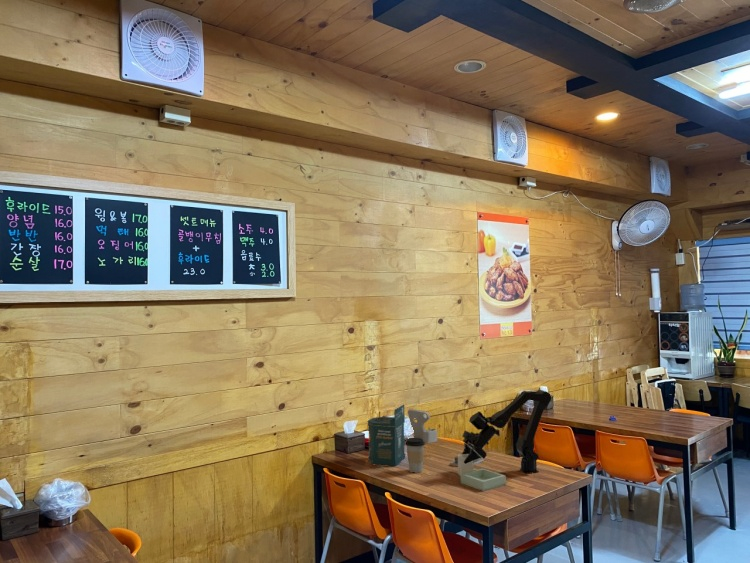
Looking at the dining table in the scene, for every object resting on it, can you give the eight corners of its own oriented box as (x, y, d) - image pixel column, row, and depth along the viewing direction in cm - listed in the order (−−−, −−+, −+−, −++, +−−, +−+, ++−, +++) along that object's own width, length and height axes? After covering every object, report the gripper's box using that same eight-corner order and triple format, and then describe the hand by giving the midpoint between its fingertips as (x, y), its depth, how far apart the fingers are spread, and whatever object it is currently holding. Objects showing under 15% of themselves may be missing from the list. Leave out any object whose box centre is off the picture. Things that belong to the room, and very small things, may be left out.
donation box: (395, 466, 281) (394, 409, 282) (365, 463, 286) (364, 408, 287) (405, 458, 296) (404, 404, 297) (376, 455, 301) (375, 402, 302)
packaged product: (468, 448, 296) (485, 452, 289) (468, 458, 296) (485, 461, 289) (449, 455, 283) (466, 459, 276) (449, 465, 282) (466, 469, 276)
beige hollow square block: (469, 473, 268) (469, 454, 269) (473, 476, 263) (472, 457, 263) (458, 473, 267) (457, 454, 268) (461, 477, 262) (461, 457, 262)
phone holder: (439, 440, 332) (438, 409, 333) (427, 443, 325) (427, 412, 326) (417, 435, 345) (417, 406, 346) (405, 438, 338) (405, 408, 339)
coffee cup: (428, 469, 275) (427, 438, 276) (421, 475, 266) (420, 442, 267) (409, 467, 279) (409, 436, 279) (402, 472, 270) (402, 441, 271)
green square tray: (482, 477, 262) (482, 468, 262) (505, 484, 251) (505, 475, 251) (460, 482, 254) (460, 473, 254) (483, 491, 242) (483, 481, 243)
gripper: (466, 420, 276) (445, 444, 274) (479, 429, 257) (456, 454, 255) (482, 436, 277) (461, 460, 275) (496, 445, 258) (473, 471, 256)
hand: (462, 461), depth 265 cm, fingers closed on beige hollow square block, 6 cm apart
